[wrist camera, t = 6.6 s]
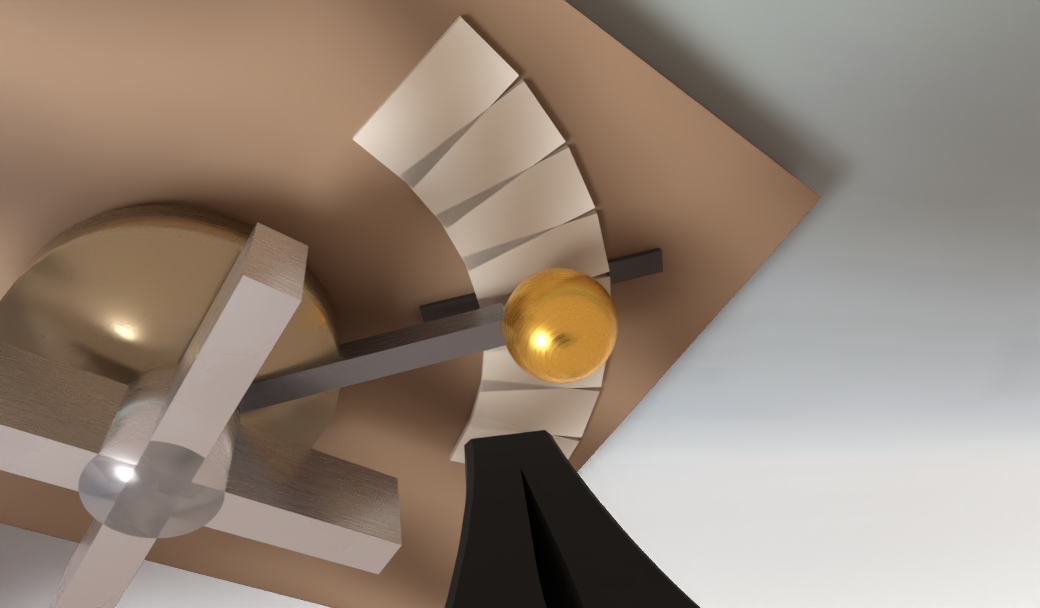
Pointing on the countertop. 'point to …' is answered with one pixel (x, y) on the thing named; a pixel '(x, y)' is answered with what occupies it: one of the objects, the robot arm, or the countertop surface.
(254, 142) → the lever board
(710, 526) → the countertop surface
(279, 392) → the capstan
